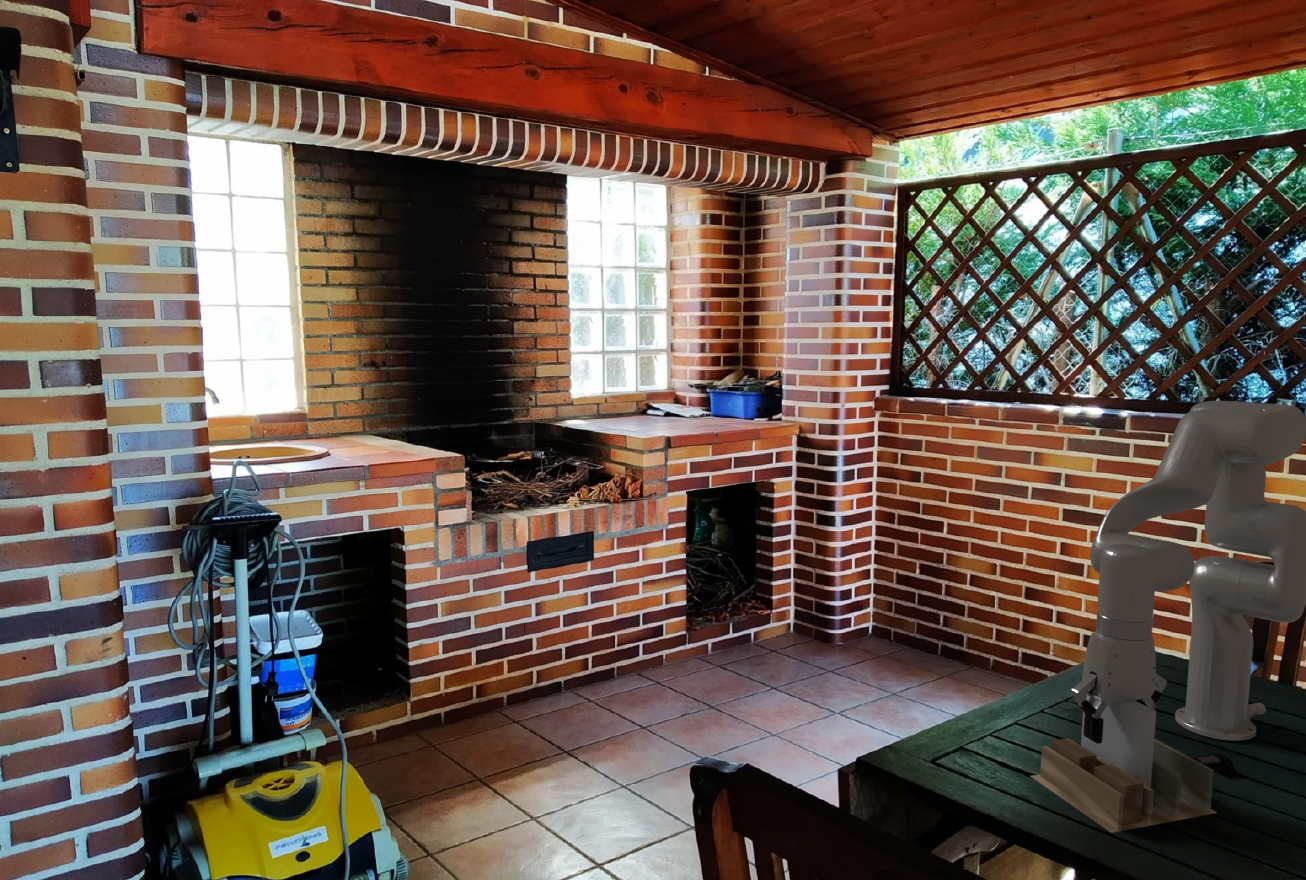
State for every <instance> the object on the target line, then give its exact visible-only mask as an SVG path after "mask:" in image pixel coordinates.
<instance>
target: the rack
mask: <svg viewBox="0 0 1306 880" xmlns="http://www.w3.org/2000/svg"><path fill="white" fill-rule="evenodd" d="M1192 758H1193V757H1190V756H1188V755H1187V754H1185V753H1183V752H1181V751H1179V750H1177V749H1175V748H1173V747H1172V746H1169V745H1168V744H1166V743H1164V742H1162V741H1160V740H1158V739H1156V738H1155V737H1154V749H1153V763H1152V777H1151V788H1150V787H1148V786H1146V785H1145V784H1144V786H1143V800H1142V814H1141V822H1140V823H1135V824H1130V825H1124V826H1122V823H1123V809H1124V795H1123V794H1122V793H1120V792H1119V791H1117V790H1115V789H1114V788H1112V787H1111V786H1109V785H1107V784H1106V783H1104V782H1103V781H1101V780H1100V779H1098V778H1096V777H1095V776H1093V775H1092V774H1090V773H1089V772H1087V771H1085V770H1084V769H1082V768H1081V767H1079V766H1077V765H1076V764H1074V763H1073V762H1071V761H1070V760H1068V759H1066V758H1065V757H1063V756H1062V755H1060V754H1058V753H1057V752H1055V751H1054V750H1052V749H1051V748H1050V747H1049V746H1048V745H1042V746H1041V756H1040V774H1035V775H1030V778H1032V779H1033V780H1034V781H1036V782H1037V783H1039V784H1040V785H1042V786H1044V787H1045V788H1046V789H1048V790H1049V791H1051V792H1053V793H1054V794H1055V795H1056V796H1058V797H1059V798H1061V799H1062V800H1064V801H1065V802H1067V803H1068V804H1070V805H1071V806H1073V808H1075V809H1076V810H1078V811H1079V812H1081V813H1082V814H1083V815H1085V816H1087V817H1088V818H1089V819H1091V820H1092V821H1094V822H1095V823H1097V824H1098V825H1099V826H1101V827H1102V828H1104V830H1107V831H1108V832H1109V833H1111V834H1114V833H1119V832H1125V831H1129V830H1134V829H1140V828H1146V827H1150V826H1155V825H1161V824H1166V823H1172V822H1177V821H1183V820H1188V819H1193V818H1198V817H1203V816H1208V815H1213V814H1214V815H1215V814H1217V813H1218V812H1217V811H1215V810H1213V809H1212V797H1213V796H1212V794H1213V786H1214V784H1213V783H1214V774H1215V773H1214V770H1213V769H1211V768H1209V767H1207V766H1205V765H1203V764H1202V763H1200V762H1198V761H1196V760H1194V759H1192ZM1109 764H1110V763H1108V762H1106V761H1105V760H1103V759H1101V758H1100V757H1098V756H1097V760H1096V766H1102V765H1109Z"/></svg>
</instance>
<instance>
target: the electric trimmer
mask: <svg viewBox="0 0 1306 880" xmlns="http://www.w3.org/2000/svg"><path fill="white" fill-rule="evenodd" d="M1191 758H1192V759H1194V760H1196V761H1198V762H1200V763H1202V764H1203V765H1205V766H1207V767H1209V768H1211V769H1213V770H1214V772H1215V773H1216V774H1219V773H1220V774H1222V773H1227V774H1230V775H1234V773H1237V770H1236V767H1235V765H1234V763H1233V762H1232V760H1231V758H1229V757H1228V756H1226V755H1225V754H1223V753H1217V752H1213V753H1211V754H1208V755H1202V756H1195V757H1191Z"/></svg>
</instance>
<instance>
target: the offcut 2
mask: <svg viewBox="0 0 1306 880" xmlns="http://www.w3.org/2000/svg"><path fill="white" fill-rule="evenodd" d="M1094 776H1095V777H1096V778H1098V779H1100V780H1101V781H1103V782H1104V783H1106V784H1107V785H1109V786H1111V787H1112V788H1114V789H1115V790H1117V791H1119V792H1120V793H1122V794H1123V795H1124V809H1123V823H1122V826H1124V825H1130V824H1135V823H1140V822H1141V814H1142V800H1143V786H1144V783H1143V782H1141V781H1139V780H1138V779H1136V778H1134V777H1133V776H1131V775H1129V774H1128V773H1126V772H1124V771H1123V770H1121V769H1119V768H1118V767H1116V766H1114V765H1113V764H1109V765H1102V766H1096V767H1094Z"/></svg>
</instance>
